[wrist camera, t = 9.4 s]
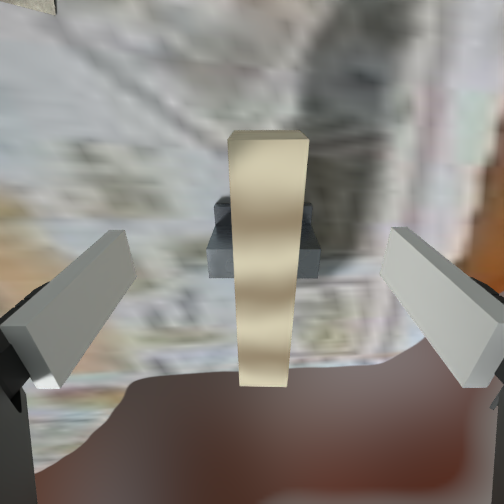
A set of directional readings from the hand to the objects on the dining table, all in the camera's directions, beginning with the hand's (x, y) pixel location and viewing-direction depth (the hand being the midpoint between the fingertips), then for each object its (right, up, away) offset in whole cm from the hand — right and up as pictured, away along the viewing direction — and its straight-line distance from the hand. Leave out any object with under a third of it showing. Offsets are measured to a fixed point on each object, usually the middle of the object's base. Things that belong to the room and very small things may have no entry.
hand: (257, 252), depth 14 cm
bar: (+1, -1, +11) cm, 11 cm away
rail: (+1, +2, +16) cm, 16 cm away
